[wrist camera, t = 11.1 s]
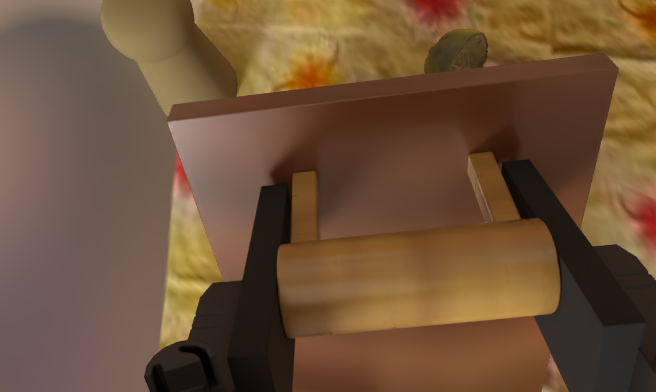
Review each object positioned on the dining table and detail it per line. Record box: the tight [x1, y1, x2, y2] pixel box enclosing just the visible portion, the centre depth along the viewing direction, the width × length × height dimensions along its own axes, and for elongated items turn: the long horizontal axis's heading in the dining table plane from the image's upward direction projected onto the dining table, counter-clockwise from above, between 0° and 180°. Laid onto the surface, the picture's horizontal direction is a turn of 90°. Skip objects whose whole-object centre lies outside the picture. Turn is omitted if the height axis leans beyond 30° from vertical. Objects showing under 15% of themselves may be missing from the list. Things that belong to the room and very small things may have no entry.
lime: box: [424, 29, 488, 74], centre depth 37 cm, size 4×5×5 cm
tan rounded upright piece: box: [100, 0, 237, 116], centre depth 36 cm, size 6×6×11 cm
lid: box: [167, 53, 618, 392], centre depth 18 cm, size 17×12×6 cm
